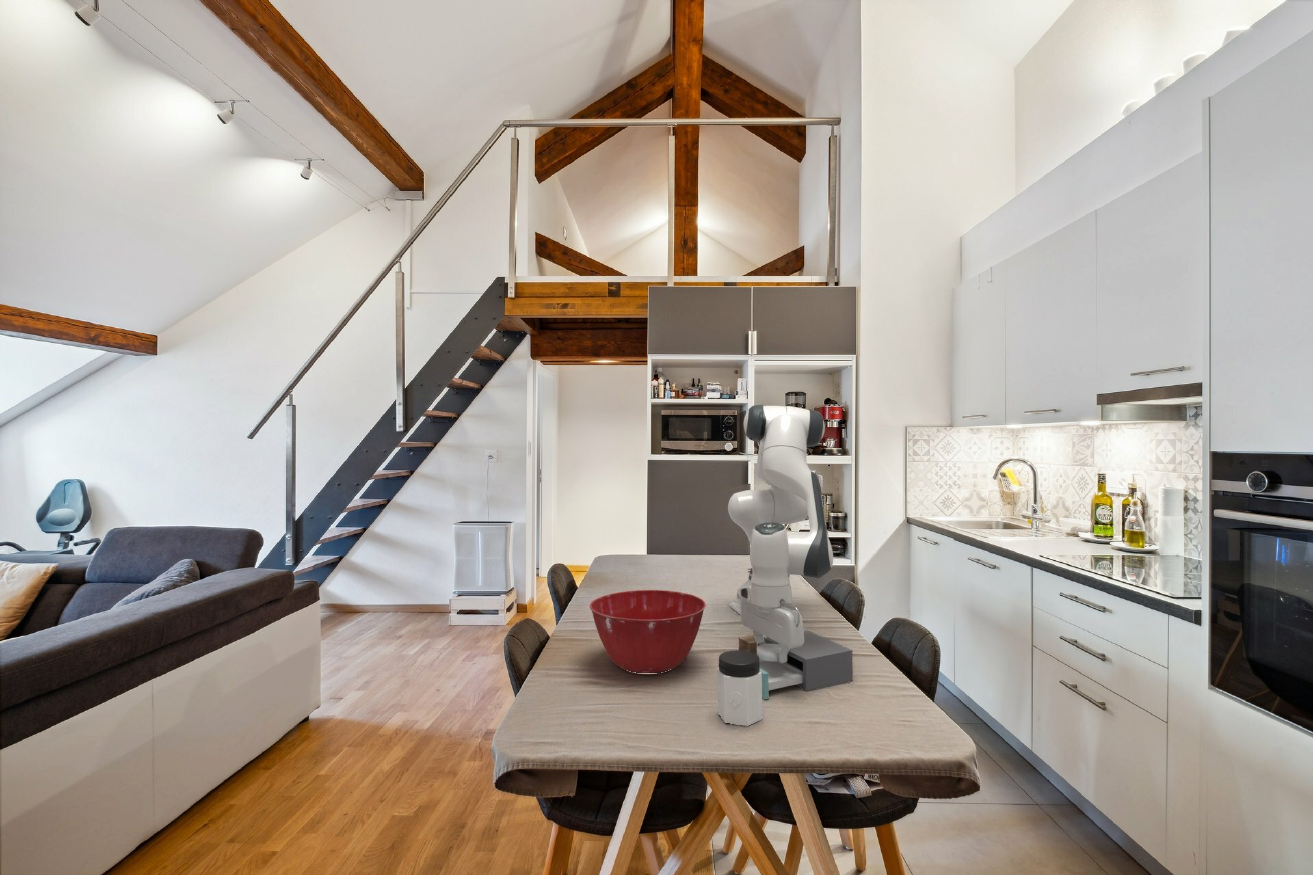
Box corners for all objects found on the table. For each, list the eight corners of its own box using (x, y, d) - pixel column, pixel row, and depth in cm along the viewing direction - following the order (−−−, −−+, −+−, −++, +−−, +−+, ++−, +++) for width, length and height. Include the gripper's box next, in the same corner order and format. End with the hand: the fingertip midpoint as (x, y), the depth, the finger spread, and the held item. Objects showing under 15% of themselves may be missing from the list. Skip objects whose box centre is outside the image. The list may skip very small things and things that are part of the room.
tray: (726, 673, 147) (726, 651, 147) (771, 665, 152) (771, 642, 152) (764, 699, 132) (764, 673, 132) (812, 688, 138) (812, 664, 138)
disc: (775, 649, 147) (775, 641, 147) (792, 658, 141) (792, 650, 141) (751, 654, 144) (751, 646, 144) (767, 663, 138) (767, 655, 138)
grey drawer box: (764, 666, 151) (764, 638, 151) (808, 658, 157) (807, 630, 157) (806, 691, 137) (805, 659, 137) (852, 680, 142) (852, 650, 142)
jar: (713, 723, 122) (712, 662, 122) (721, 705, 130) (721, 648, 130) (759, 728, 120) (758, 666, 120) (765, 710, 127) (764, 652, 127)
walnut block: (739, 657, 158) (738, 637, 158) (755, 653, 160) (755, 634, 160) (749, 663, 154) (749, 643, 154) (766, 660, 156) (766, 640, 156)
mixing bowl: (637, 638, 174) (636, 583, 174) (727, 658, 157) (726, 597, 157) (566, 671, 151) (565, 607, 151) (663, 698, 134) (662, 626, 134)
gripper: (810, 604, 134) (811, 668, 134) (757, 584, 153) (758, 640, 153) (786, 608, 131) (787, 673, 131) (735, 587, 150) (736, 644, 150)
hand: (771, 655), depth 142 cm, fingers closed on disc, 7 cm apart
